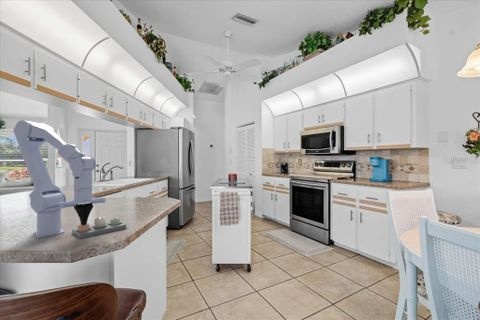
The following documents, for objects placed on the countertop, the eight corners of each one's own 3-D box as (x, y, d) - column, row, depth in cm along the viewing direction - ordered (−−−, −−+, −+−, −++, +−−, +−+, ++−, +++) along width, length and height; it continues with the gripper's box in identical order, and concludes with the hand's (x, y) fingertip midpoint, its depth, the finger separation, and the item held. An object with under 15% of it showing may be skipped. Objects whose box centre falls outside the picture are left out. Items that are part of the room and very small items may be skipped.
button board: (72, 233, 88) (72, 229, 88) (116, 224, 100) (116, 220, 100) (80, 238, 82) (80, 234, 82) (126, 228, 94) (126, 224, 94)
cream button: (93, 227, 91) (93, 217, 91) (103, 225, 93) (103, 216, 93) (96, 228, 88) (96, 219, 88) (106, 226, 91) (106, 217, 91)
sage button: (108, 227, 95) (108, 218, 95) (117, 225, 98) (117, 216, 98) (111, 229, 93) (111, 219, 93) (121, 227, 95) (121, 218, 95)
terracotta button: (76, 234, 87) (76, 224, 87) (87, 231, 89) (87, 222, 89) (79, 236, 84) (79, 226, 84) (90, 233, 87) (90, 223, 87)
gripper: (62, 191, 79) (62, 230, 79) (108, 187, 90) (108, 221, 90) (57, 189, 83) (57, 227, 83) (101, 186, 94) (102, 219, 94)
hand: (83, 224), depth 87 cm, fingers closed, pressing on terracotta button
